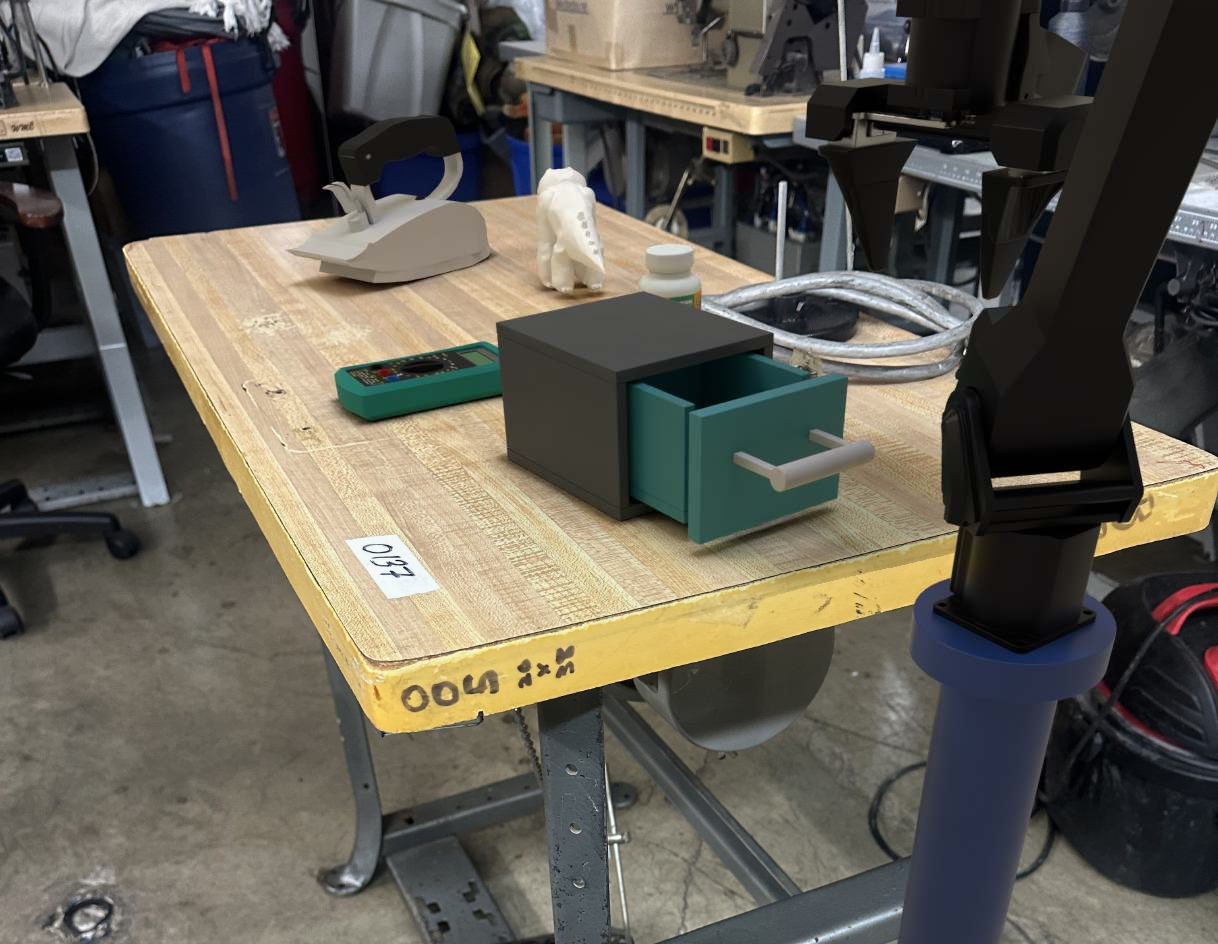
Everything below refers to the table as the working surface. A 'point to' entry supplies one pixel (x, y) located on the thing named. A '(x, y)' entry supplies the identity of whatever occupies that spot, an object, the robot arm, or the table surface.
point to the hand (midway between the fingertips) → (931, 283)
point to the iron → (398, 210)
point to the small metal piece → (806, 362)
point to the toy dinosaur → (568, 232)
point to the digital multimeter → (420, 381)
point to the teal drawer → (737, 442)
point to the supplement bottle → (672, 274)
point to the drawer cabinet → (599, 384)
